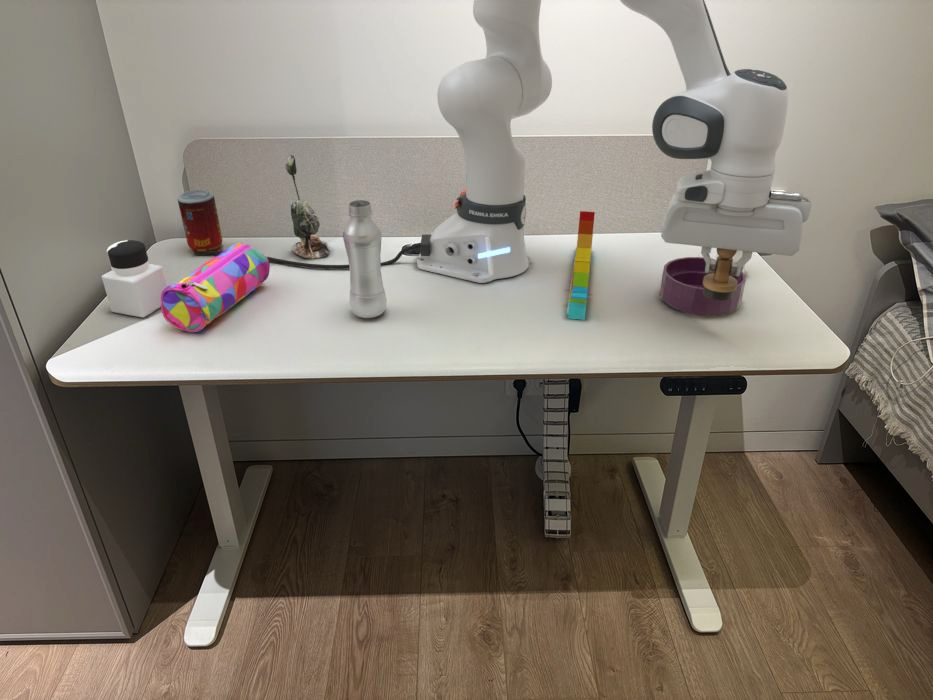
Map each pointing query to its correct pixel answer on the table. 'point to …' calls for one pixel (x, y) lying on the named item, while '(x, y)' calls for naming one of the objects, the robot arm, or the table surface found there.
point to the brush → (721, 277)
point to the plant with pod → (305, 223)
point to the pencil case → (214, 287)
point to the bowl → (695, 288)
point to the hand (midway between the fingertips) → (721, 273)
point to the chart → (581, 267)
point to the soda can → (200, 220)
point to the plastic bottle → (364, 261)
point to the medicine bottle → (133, 280)
